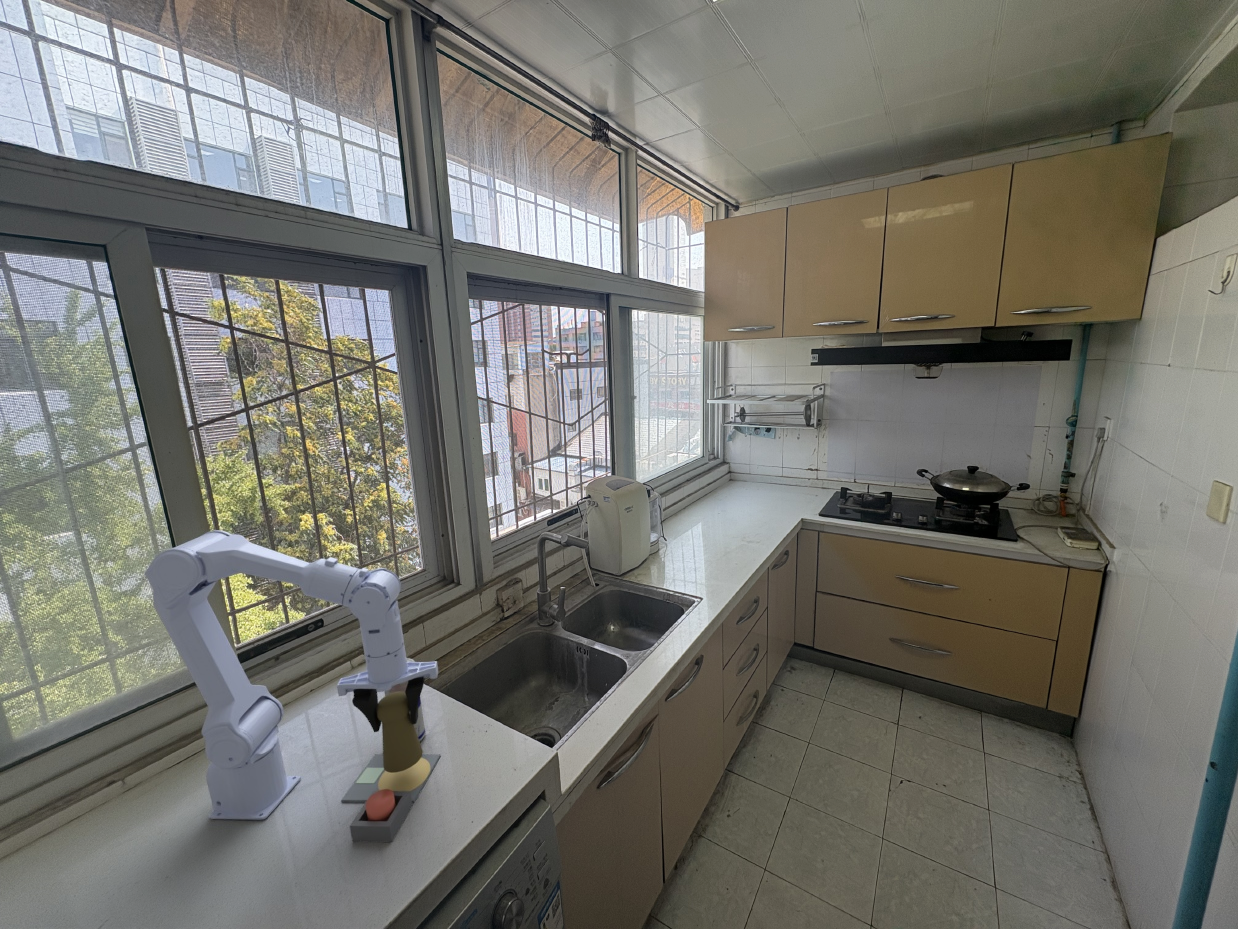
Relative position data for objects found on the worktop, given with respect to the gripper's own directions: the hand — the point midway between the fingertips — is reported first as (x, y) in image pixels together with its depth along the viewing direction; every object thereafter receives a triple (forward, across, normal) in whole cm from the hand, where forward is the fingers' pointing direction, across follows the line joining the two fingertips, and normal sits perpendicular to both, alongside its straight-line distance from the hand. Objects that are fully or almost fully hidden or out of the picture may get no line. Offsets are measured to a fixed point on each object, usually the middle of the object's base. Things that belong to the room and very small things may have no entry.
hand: (396, 724), depth 79 cm
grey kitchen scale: (+10, -2, +1) cm, 10 cm away
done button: (+9, -2, -8) cm, 12 cm away
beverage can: (+10, -1, +10) cm, 14 cm away
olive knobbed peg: (+6, 0, 0) cm, 6 cm away
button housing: (+10, -2, -8) cm, 13 cm away
